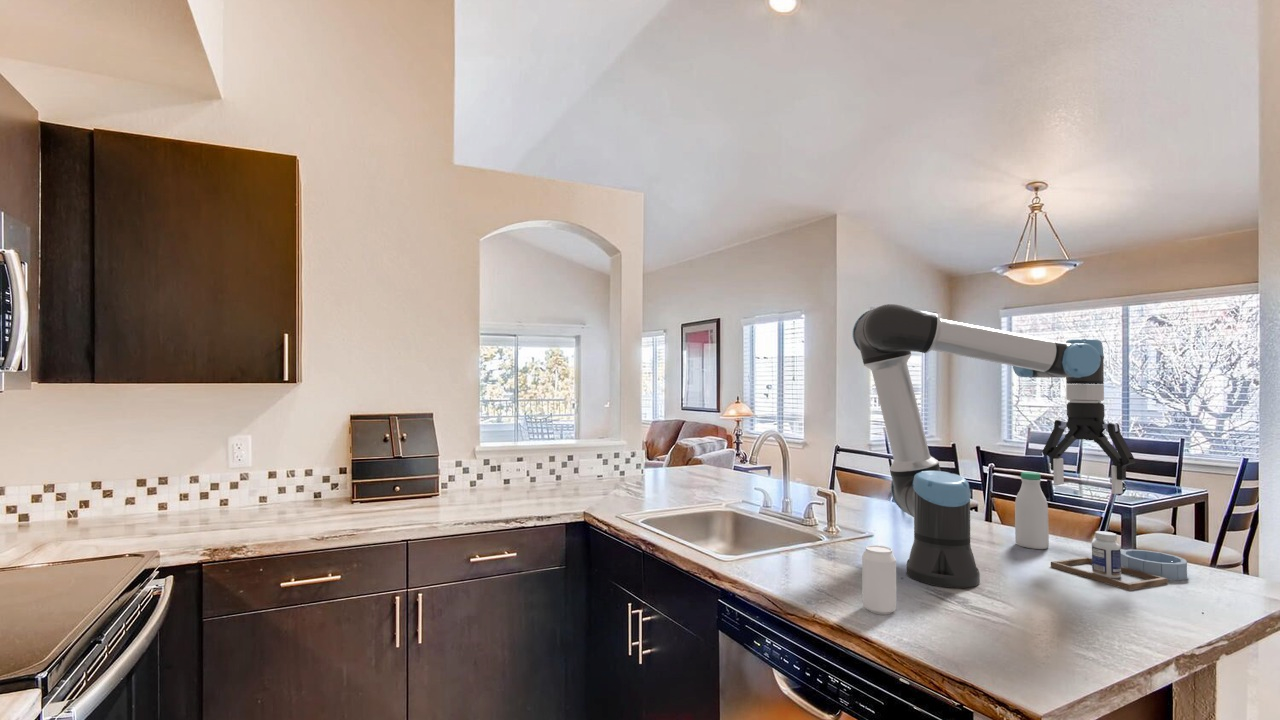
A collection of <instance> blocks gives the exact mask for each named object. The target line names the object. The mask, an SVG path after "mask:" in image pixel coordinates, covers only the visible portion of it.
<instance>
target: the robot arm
mask: <svg viewBox="0 0 1280 720" xmlns="http://www.w3.org/2000/svg"><path fill="white" fill-rule="evenodd" d="M852 340H853V343H854V345H855V347H857V349H858V350H859V351H860V356H861V359H862V363H863V366H865V367H866V368H868V369H870V371H871V373H872V377H873V381H874V386H875V390H876V394H877V397H878V401H879V405H880V409H881V414H882V417H883V421H884V426H885V430H886V433H887V438H888V441H889V447H890V451H891V454H892V458H893V462H892V464H891V465H890V467H889V473H890V476H891V482H890V493H891V496H892V497H891V498H892V499H893V502H894V503H895V504H896V505H897V506H898V508H899V509H901V511H902V512H904V513H905V514H907V515H908V516H911V517H913V543H912V547H911V549H910V553H909V558H908V559H907V561H906V565H905V567H906V569H905V570H906V571H905V572H906V575H907V576H908V577H910V578H911V579H912V580H915V581H918V582H920V583H924V584H928V585H932V586H937V587H943V588H953V589H954V588H955V589H957V588H958V589H960V588H961V589H962V588H963V589H965V588H973V587H977V586H978V585H979V584H981V583H980V582H981V576H980V575H981V573H980V571H979V568H978V567H977V564H976V560H975V557H974V553H973V550H972V546H971V496H972V495H971V491H970V484H969V481H968V480H967V479H966V478H965V477H963V476H961V475H959V474H957V473H951V472H949V471H942V470H941V467H940V466H941V465H940V463H939V460H938V459H936V458H935V457H934V456H932V455H931V454H930V450H929V447H928V442H927V439H926V434H925V431H924V427H923V421H922V419H921V414H920V410H919V407H918V403H917V399H916V394H915V390H914V387H913V382H912V378H911V375H910V371H909V366H908V361H909V359H910V358H911V357H912V352H917V353H921V354H922V353H923V354H928V353H929V352H931V351H935V352H939V353H944V354H950V355H955V356H960V357H965V358H970V359H975V360H980V361H985V362H991V363H996V364H1001V365H1005V366H1011V367H1012V370H1013V371H1014V374H1015V375H1016V376H1017V377H1021V378H1029V379H1032V378H1041V379H1042V378H1043V379H1044V378H1047V379H1049V378H1062V379H1063V378H1065V381H1066V382H1065V384H1066V387H1065V388H1066V389H1065V390H1066V400H1067V401H1069V402H1067V403H1066V416H1067V420H1065V419H1055V420H1054V424H1053V429H1052V431H1051V433H1050V435H1049V437H1048V439H1047V442H1046V443H1045V445H1044V447H1043V450H1042V455H1043V456H1048V457H1049V459H1050V470H1051V471H1053V485H1056V486H1057V485H1064V484H1065V481H1064V480H1065V479H1064V477H1065V475H1064V474H1065V473H1064V458H1062V455H1063V454H1064V453H1065V452H1066V450H1068V449H1069V448H1070V447H1071V446H1072V445H1073V443H1074V442H1075V441H1076V440H1086V441H1093V442H1094V443H1096V444H1097V445H1098V446H1099V447H1100V448H1101V450H1102V451H1103V452H1104V453H1105V454H1106V455H1107V457H1108V458H1109V459H1110V461H1112V462H1113V465H1111V466H1110V467H1111V494H1113V495H1119V494H1120V495H1121V494H1123V492H1124V491H1123V488H1124V487H1123V481H1125V480H1126V478H1127V467H1128V466H1129V465H1133V464H1136V463H1137V462H1136V459H1135V457H1134V455H1133V453H1132V451H1131V450H1130V448H1129V446H1128V443H1126V440H1125V438H1124V437H1123V435H1122V433H1121V429H1120V424H1119V423H1117V422H1109V423H1105V421H1104V420H1105V419H1104V418H1105V404H1104V402H1102V401H1105V385H1104V384H1105V381H1104V380H1105V377H1104V374H1105V373H1104V372H1105V371H1104V365H1105V364H1104V361H1105V360H1104V359H1105V355H1104V354H1105V353H1104V347H1103V342H1102V341H1101V340H1100V339H1097V338H1074V339H1068V340H1066V342H1063V341H1058V340H1051V339H1048V338H1043V337H1037V336H1033V335H1026V334H1021V333H1017V332H1011V331H1006V330H1001V329H995V328H991V327H986V326H981V325H976V324H975V325H974V324H972V323H971V324H969V323H964V322H958V321H954V320H950V319H944V318H940V316H939V315H938V314H937V313H936V312H931V311H926V310H922V309H918V308H913V307H909V306H905V305H900V304H891V303H889V304H883V305H881V306H880V305H879V306H877V307H875V308H873V309H870V310H867V311H866V312H863V313H862V314H861V316H859V318H857V320H856V321H855V323H854V324H853V327H852ZM1066 428H1067V429H1068V430H1069V431H1068V432H1067V433H1066V434H1065V436H1064V438H1063V439H1062V440H1061V438H1062V436H1063V434H1064V432H1065V430H1066ZM1104 431H1106V432H1107V434H1108V436H1109V438H1110V440H1111V441H1109V438H1108V437H1107V436H1106V435H1105V433H1104ZM1060 440H1061V441H1060ZM1111 442H1112V443H1113V445H1112V443H1111Z"/></svg>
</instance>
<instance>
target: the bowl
mask: <svg viewBox="0 0 1280 720" xmlns="http://www.w3.org/2000/svg"><path fill="white" fill-rule="evenodd" d="M1171 561H1173V562H1171ZM1121 566H1122V567H1126V568H1130V569H1134V570H1137V571H1141V572H1145V573H1149V574H1152V575H1156V576H1160V577H1164V578H1167V581H1183V580H1188V562H1187V559H1186V558H1183V557H1180V556H1178V555H1174V554H1169V553H1166V552H1161V551H1153V550H1146V549H1132V548H1130V549H1124V550H1121Z"/></svg>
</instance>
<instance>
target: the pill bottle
mask: <svg viewBox="0 0 1280 720" xmlns="http://www.w3.org/2000/svg"><path fill="white" fill-rule="evenodd" d="M1094 538H1095V540H1093V541H1092V542H1091V558H1092V564H1091V568H1092V573H1095V574H1098V575H1102V576H1105V577H1109V578H1112V579H1119V578H1121V577H1122V572H1121V545H1120V544H1119V543H1118V542H1116V541H1118V540H1117V539H1118V538H1117V533H1114V532H1111V531H1103V530H1102V531H1101V530H1097V531H1094Z"/></svg>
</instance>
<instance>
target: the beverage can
mask: <svg viewBox="0 0 1280 720" xmlns="http://www.w3.org/2000/svg"><path fill="white" fill-rule="evenodd" d="M861 558H862V559H861V564H862V565H861V568H862V569H861V572H862V573H861V574H862V575H861V578H862V581H861V582H862V583H861V584H862V587H861V589H862V590H861V591H862V593H861V594H862V605H863V607H864V608H865V609H866V610H868V612H870V613H872V614H876V615H883V616H884V615H889V614H892V612H895V611H896V610H897V559H896V557H895V555H894V553H893V549H892V548H891V547H888V546H883V545H875V544H874V545H873V544H872V545H866V546H865V550H864V552H863V554H862V556H861Z"/></svg>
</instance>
